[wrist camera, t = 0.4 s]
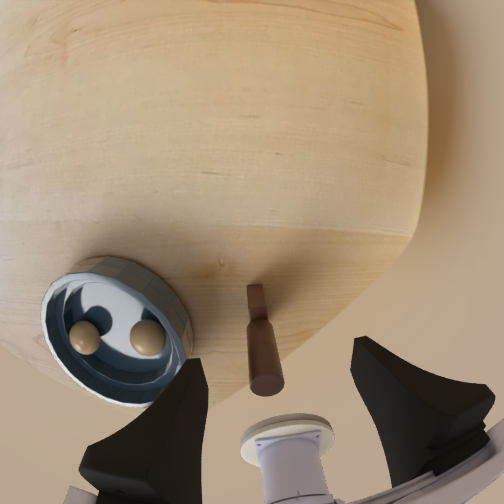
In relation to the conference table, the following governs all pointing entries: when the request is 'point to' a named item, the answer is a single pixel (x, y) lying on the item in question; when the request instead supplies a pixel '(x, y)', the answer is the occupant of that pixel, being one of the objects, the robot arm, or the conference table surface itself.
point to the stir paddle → (262, 347)
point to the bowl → (116, 329)
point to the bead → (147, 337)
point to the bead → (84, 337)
